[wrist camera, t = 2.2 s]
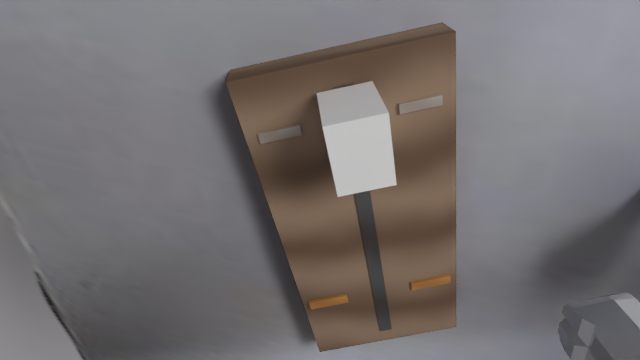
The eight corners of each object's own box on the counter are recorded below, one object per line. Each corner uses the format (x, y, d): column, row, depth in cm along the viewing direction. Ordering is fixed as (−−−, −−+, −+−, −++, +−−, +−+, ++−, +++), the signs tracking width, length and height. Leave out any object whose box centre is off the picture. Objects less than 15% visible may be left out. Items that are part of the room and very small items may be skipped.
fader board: (230, 70, 22) (225, 83, 20) (442, 22, 21) (457, 32, 20) (318, 331, 36) (320, 353, 34) (448, 307, 35) (457, 328, 34)
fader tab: (316, 93, 21) (322, 126, 17) (372, 80, 21) (389, 112, 17) (330, 156, 23) (337, 197, 20) (380, 146, 23) (396, 185, 20)
